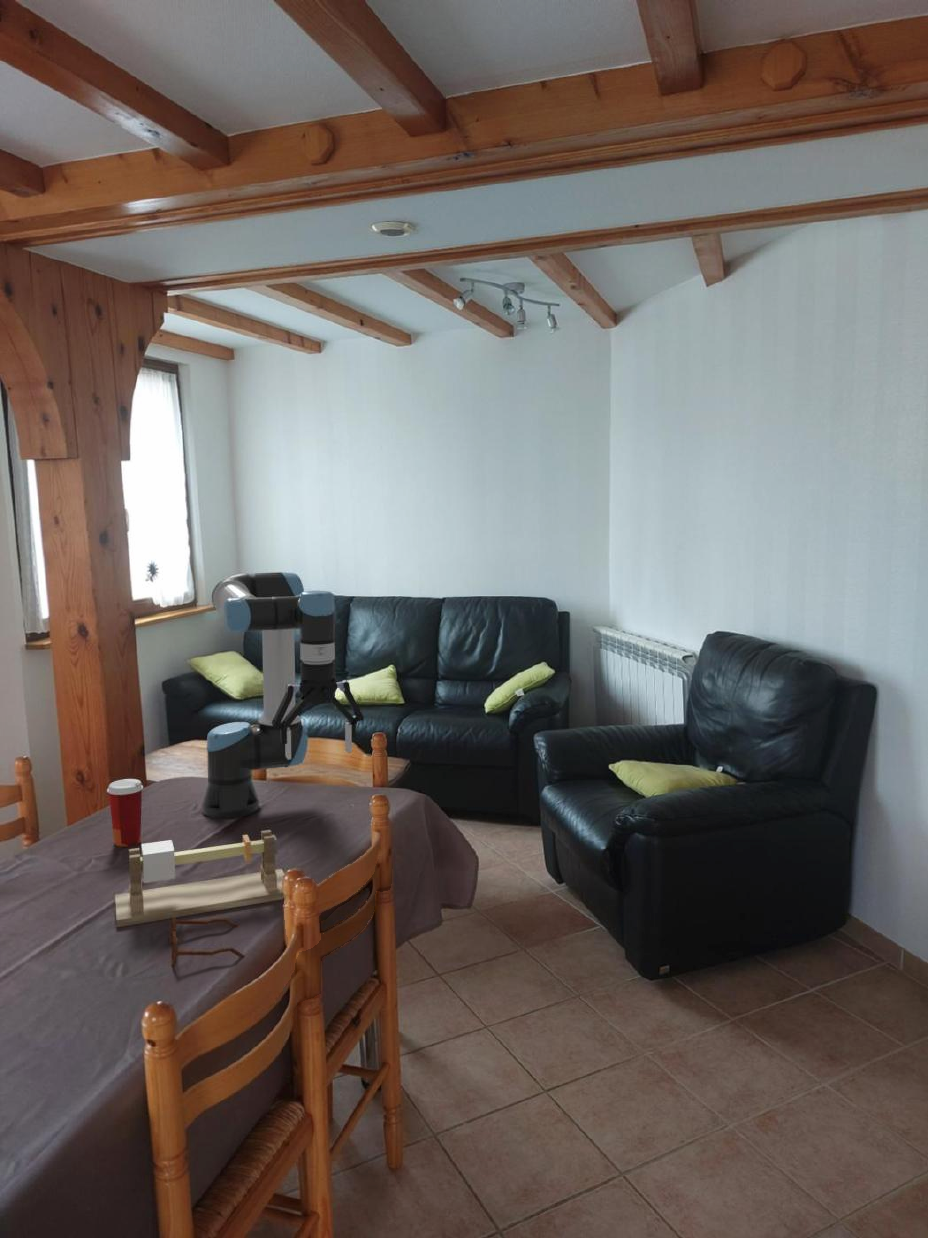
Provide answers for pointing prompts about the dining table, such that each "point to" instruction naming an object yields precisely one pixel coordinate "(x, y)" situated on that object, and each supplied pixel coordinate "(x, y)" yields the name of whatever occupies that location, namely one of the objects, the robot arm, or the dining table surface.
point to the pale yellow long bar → (220, 852)
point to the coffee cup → (126, 811)
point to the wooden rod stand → (198, 891)
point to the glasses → (175, 945)
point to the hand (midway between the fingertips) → (318, 754)
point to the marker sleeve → (158, 861)
